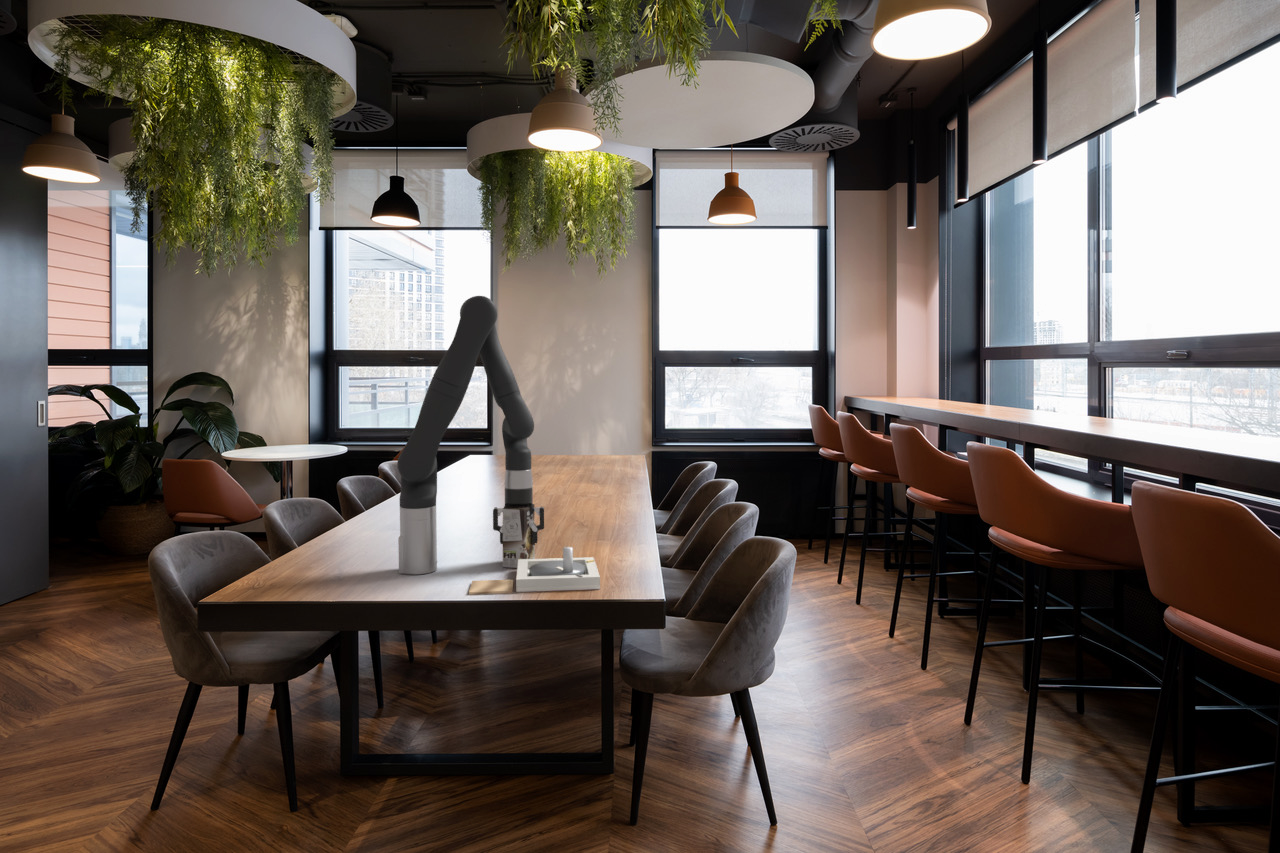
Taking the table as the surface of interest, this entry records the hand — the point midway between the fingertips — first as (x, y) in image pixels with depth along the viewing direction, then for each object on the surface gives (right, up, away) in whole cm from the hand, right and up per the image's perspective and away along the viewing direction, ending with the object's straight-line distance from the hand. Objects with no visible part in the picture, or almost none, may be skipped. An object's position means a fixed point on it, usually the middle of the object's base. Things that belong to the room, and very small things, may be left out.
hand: (519, 545), depth 203 cm
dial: (+12, -5, -15) cm, 20 cm away
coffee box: (0, -5, 0) cm, 6 cm away
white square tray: (+12, -6, -15) cm, 20 cm away
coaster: (-3, -7, -23) cm, 24 cm away
